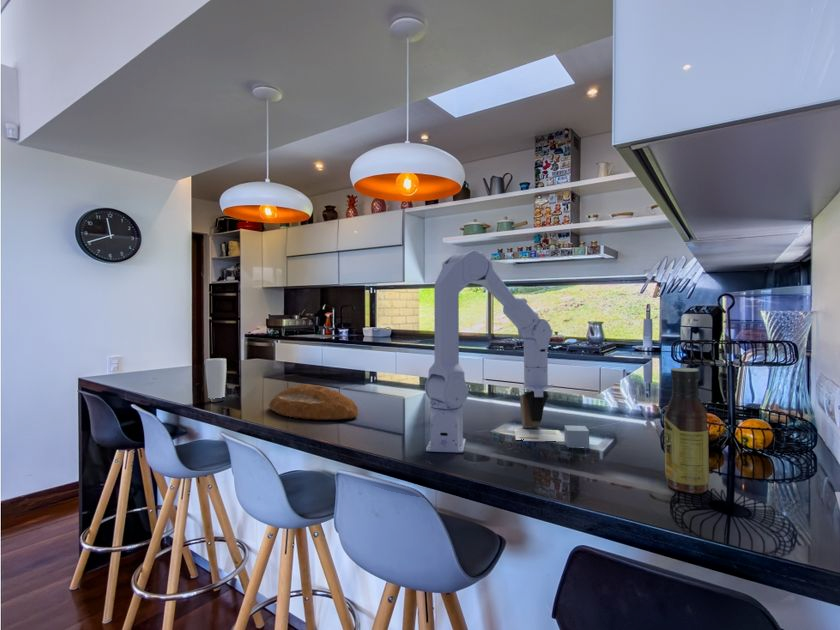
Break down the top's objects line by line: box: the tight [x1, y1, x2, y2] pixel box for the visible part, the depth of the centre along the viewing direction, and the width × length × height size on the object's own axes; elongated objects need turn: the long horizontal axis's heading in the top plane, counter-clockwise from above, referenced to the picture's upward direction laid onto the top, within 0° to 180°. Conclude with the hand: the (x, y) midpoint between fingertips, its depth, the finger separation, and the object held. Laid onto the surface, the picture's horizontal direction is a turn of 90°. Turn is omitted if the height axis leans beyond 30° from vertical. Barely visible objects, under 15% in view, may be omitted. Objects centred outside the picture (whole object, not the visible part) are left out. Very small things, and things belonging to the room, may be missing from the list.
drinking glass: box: [204, 357, 227, 399], centre depth 158 cm, size 7×7×15 cm
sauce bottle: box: [663, 367, 710, 495], centre depth 75 cm, size 6×6×20 cm
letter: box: [513, 428, 565, 443], centre depth 108 cm, size 10×11×1 cm
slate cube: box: [563, 424, 590, 449], centre depth 99 cm, size 4×4×4 cm
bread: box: [268, 383, 359, 421], centre depth 137 cm, size 18×35×9 cm, turn 54°
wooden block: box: [519, 393, 542, 428], centre depth 116 cm, size 4×4×8 cm
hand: (536, 421), depth 112 cm, fingers closed
